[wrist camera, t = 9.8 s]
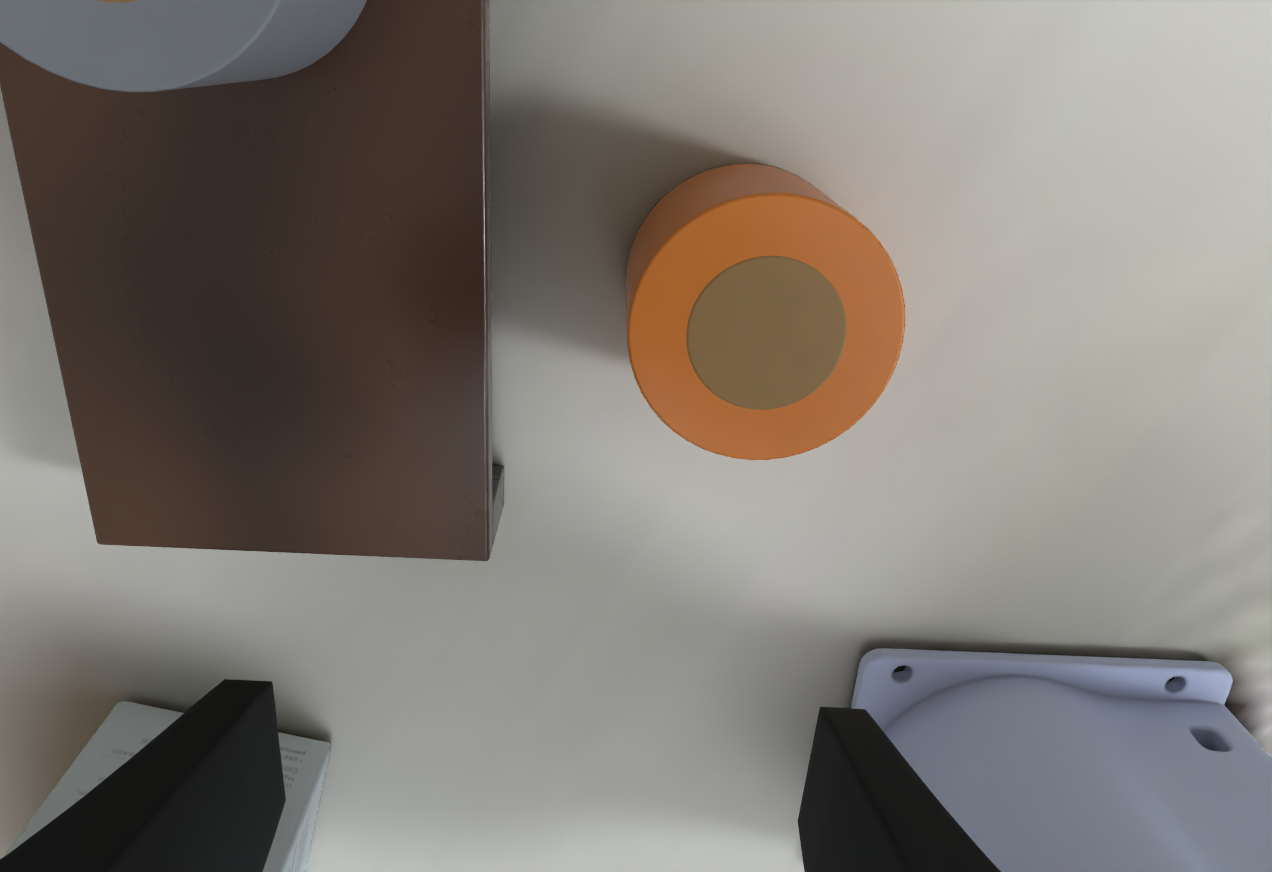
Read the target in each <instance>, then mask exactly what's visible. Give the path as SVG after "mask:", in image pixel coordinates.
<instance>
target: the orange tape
mask: <svg viewBox="0 0 1272 872" xmlns="http://www.w3.org/2000/svg"><path fill="white" fill-rule="evenodd" d="M626 278H627V340H628V351H629V357H630V363H631V366H632V370H633V373H634V377H635V379H636V381H637V384H638V386H639V388H640V390H641V393H642V394H643V396H644V397H645V399H646V401H647V402H648V404H649V405H650V407H651V408H652V409H653V411H654V412H655V413H656V414H657V415H658V417H659V418H660V419H661V420H662V421H663V422H664V423H665V424H666V425H667V426H668V427H669V428H671V429H672V430H673V431H674V432H675V433H677V434H678V435H680V436H681V437H683V438H684V439H685V440H687V441H689V442H691V443H693V444H695V445H696V446H698V447H700V448H702V449H705V450H708V451H711V452H713V453H716V454H719V455H724V456H728V457H732V458H739V459H749V460H768V459H776V458H784V457H788V456H792V455H796V454H800V453H803V452H806V451H809V450H811V449H814V448H817V447H819V446H821V445H823V444H825V443H827V442H829V441H831V440H833V439H834V438H836V437H837V436H839V435H840V434H842V433H843V432H845V431H846V430H848V429H849V428H850V427H851V426H852V425H854V424H855V423H856V422H857V421H858V420H859V419H861V418H862V417H863V415H864V414H865V413H866V412H867V411H868V410H869V409H870V408H871V407H872V406H873V404H874V403H875V402H876V400H877V399H878V398H879V396H880V395H881V393H882V392H883V391H884V389H885V387H886V385H887V383H888V382H889V380H890V378H891V376H892V374H893V371H894V369H895V366H896V364H897V361H898V359H899V355H900V351H901V347H902V343H903V337H904V329H905V305H904V299H903V292H902V288H901V284H900V281H899V278H898V275H897V272H896V270H895V267H894V265H893V263H892V261H891V259H890V257H889V255H888V254H887V252H886V251H885V249H884V248H883V246H882V245H881V243H880V242H879V241H878V240H877V238H876V237H875V236H874V235H873V234H872V233H871V232H870V231H869V230H868V228H866V227H865V226H864V225H863V224H862V223H860V222H859V221H858V220H857V219H856V218H854V217H853V216H852V215H851V214H849V213H848V212H847V211H845V210H844V209H843V208H841V207H840V206H839V205H837V204H836V203H835V202H834V201H832V200H831V199H830V198H828V197H827V196H826V195H824V194H823V193H822V192H820V191H819V190H818V189H817V188H815V187H814V186H813V185H811V184H810V183H808V182H807V181H805V180H803V179H802V178H800V177H799V176H797V175H794V174H792V173H790V172H787V171H785V170H782V169H779V168H775V167H771V166H767V165H759V164H733V165H726V166H720V167H717V168H713V169H710V170H706V171H704V172H702V173H699V174H697V175H695V176H692V177H691V178H689V179H687V180H686V181H684V182H682V183H681V184H679V185H677V186H676V187H675V188H674V189H672V190H671V191H670V192H669V193H667V194H666V195H665V196H664V197H663V198H662V199H661V200H660V201H659V202H658V203H657V204H656V205H655V206H654V208H653V209H652V210H651V212H650V213H649V214H648V216H647V217H646V218H645V220H644V222H643V224H642V225H641V227H640V229H639V231H638V233H637V235H636V238H635V240H634V243H633V245H632V248H631V252H630V256H629V260H628V267H627V275H626Z"/></svg>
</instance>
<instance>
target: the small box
mask: <svg viewBox="0 0 1272 872" xmlns="http://www.w3.org/2000/svg"><path fill="white" fill-rule="evenodd" d="M182 714H184V713H182V712H177V711H172V710H167V709H162V708H157V707H152V706H147V705H142V704H137V703H132V702H127V701H120V702H118V703H117V704H116V705H115V706H114V708H113V709H112V710H111V712H110V713H109V715H108V716H107V717H106V719H105V720H104V721H103V723H102V724H101V725H100V727H99V728H98V729H97V731H96V732H95V733H94V735H93V736H92V737H91V739H90V740H89V741H88V743H87V744H86V745H85V747H84V748H83V749H82V751H81V752H80V753H79V755H78V756H77V757H76V759H75V760H74V761H73V763H72V764H71V766H70V767H69V768H68V770H67V771H66V773H65V774H64V775H63V777H62V778H61V779H60V781H59V782H58V783H57V785H56V786H55V787H54V789H53V790H52V791H51V793H50V794H49V795H48V797H47V798H46V799H45V801H44V802H43V803H42V805H41V806H40V807H39V809H38V810H37V811H36V813H35V814H34V816H33V817H32V818H31V820H30V821H29V822H28V824H27V825H26V827H25V828H24V829H23V831H22V832H21V834H20V835H19V836H18V838H17V839H16V840H15V842H14V843H13V844H12V846H11V847H10V848H9V850H8V851H7V852H6V854H5V855H4V857H5V856H6V855H7V854H9V853H10V852H11V851H13V850H14V849H15V848H17V847H18V846H19V845H21V844H22V843H23V842H25V841H26V840H27V839H29V838H30V837H31V836H33V835H34V834H35V833H37V832H38V831H39V830H41V829H42V828H43V827H44V826H46V825H47V824H48V823H50V822H51V821H52V820H54V819H55V818H56V817H58V816H59V815H60V814H62V813H63V812H64V811H66V810H67V809H68V808H70V807H71V806H72V805H74V804H75V803H76V802H77V801H79V800H80V799H81V798H83V797H84V796H85V795H86V794H87V793H89V792H90V791H91V790H92V789H94V788H95V787H96V786H97V785H98V784H100V783H101V782H102V781H103V780H105V779H106V778H107V777H108V776H110V775H111V774H112V773H113V772H114V771H116V770H117V769H118V768H119V767H121V766H122V765H123V764H124V763H125V762H127V761H128V760H129V759H130V758H132V757H133V756H134V755H135V754H136V753H138V752H139V751H140V750H141V749H142V748H143V747H145V746H146V745H147V744H148V743H149V742H151V741H152V740H153V739H154V738H155V737H157V736H158V735H159V734H160V733H161V732H162V731H164V730H165V729H166V728H167V727H168V726H170V725H171V724H172V723H173V722H174V721H175V720H177V719H178V718H179V717H180V716H181V715H182ZM278 736H279V745H280V753H281V762H282V770H283V779H284V787H285V796H286V802H285V805H284V808H283V811H282V814H281V817H280V821H279V824H278V827H277V830H276V833H275V837H274V840H273V843H272V846H271V849H270V852H269V855H268V858H267V860H266V863H265V866H264V869H263V872H306V867H307V862H308V857H309V852H310V847H311V842H312V837H313V832H314V828H315V823H316V818H317V813H318V807H319V802H320V797H321V792H322V787H323V783H324V778H325V773H326V768H327V764H328V759H329V755H330V751H331V745H330V743H328V742H325V741H320V740H315V739H310V738H305V737H300V736H294V735H290V734H285V733H280V732H278Z"/></svg>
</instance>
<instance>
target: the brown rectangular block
mask: <svg viewBox="0 0 1272 872" xmlns="http://www.w3.org/2000/svg"><path fill="white" fill-rule="evenodd" d="M0 87H1V92H2V96H3V101H4V106H5V110H6V115H7V120H8V125H9V129H10V134H11V139H12V143H13V148H14V153H15V157H16V162H17V167H18V172H19V176H20V181H21V186H22V190H23V195H24V200H25V205H26V209H27V214H28V219H29V223H30V228H31V233H32V237H33V242H34V247H35V252H36V256H37V261H38V266H39V270H40V275H41V280H42V285H43V289H44V294H45V299H46V303H47V308H48V313H49V317H50V322H51V327H52V332H53V336H54V341H55V346H56V350H57V355H58V360H59V365H60V369H61V374H62V379H63V383H64V388H65V393H66V397H67V402H68V407H69V412H70V416H71V421H72V426H73V430H74V435H75V440H76V445H77V449H78V454H79V459H80V463H81V468H82V473H83V477H84V482H85V487H86V492H87V496H88V501H89V506H90V510H91V515H92V520H93V525H94V529H95V534H96V539H97V542H98V544H104V545H127V546H150V547H173V548H197V549H220V550H243V551H266V552H289V553H312V554H335V555H359V556H382V557H405V558H428V559H451V560H474V561H488V560H489V558H490V555H491V551H492V547H493V544H494V540H495V536H496V532H497V528H498V524H499V520H500V517H501V513H502V509H503V505H504V466H499V465H492V369H491V210H490V50H489V0H367V1H366V3H365V6H364V8H363V10H362V11H361V13H360V15H359V17H358V18H357V20H356V22H355V24H354V25H353V27H352V28H351V29H350V30H349V32H348V33H347V34H346V35H345V37H344V38H343V39H342V40H341V41H340V42H339V43H338V44H337V45H336V46H335V47H334V48H333V49H332V50H331V51H330V52H329V53H328V54H326V55H325V56H323V57H322V58H320V59H319V60H317V61H316V62H314V63H313V64H311V65H309V66H307V67H305V68H303V69H301V70H299V71H297V72H294V73H290V74H287V75H284V76H281V77H276V78H270V79H263V80H255V81H246V82H237V83H228V84H219V85H210V86H201V87H192V88H183V89H174V90H165V91H156V92H122V91H114V90H106V89H100V88H96V87H92V86H89V85H85V84H81V83H77V82H74V81H72V80H69V79H66V78H64V77H61V76H59V75H56V74H54V73H51V72H49V71H47V70H45V69H43V68H41V67H40V66H38V65H36V64H34V63H32V62H30V61H28V60H26V59H24V58H23V57H21V56H20V55H19V54H17V53H16V52H14V51H13V50H11V49H10V48H8V47H7V46H5V45H4V44H2V43H1V42H0Z"/></svg>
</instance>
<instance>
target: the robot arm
mask: <svg viewBox="0 0 1272 872" xmlns="http://www.w3.org/2000/svg"><path fill="white" fill-rule="evenodd" d="M903 665H905V666H907V668H906V669H904V670H903V671H901V672H893V671H894V669H895V668H897V667H898V666H903ZM1172 677H1175V678H1174V679H1173V680H1171V681H1170V682H1167V681H1168V680H1169V679H1171V678H1172ZM1232 682H1233V679H1232V676H1231V674H1230V673H1229V672H1228V671H1227V670H1226V669H1225V668H1224V667H1223V666H1222V665H1221V664H1219V663H1217V662H1212V661H1188V660H1164V659H1139V658H1114V657H1089V656H1064V655H1039V654H1015V653H990V652H965V651H940V650H915V649H890V648H880V649H874V650H872V651H869V652H867V653H866V654H865V655H864V656H863V657H862V659H861V661H860V664H859V669H858V674H857V679H856V684H855V689H854V694H853V699H852V704H851V708H831V707H820V709H819V714H818V720H817V725H816V730H815V735H814V740H813V745H812V751H811V756H810V761H809V766H808V771H807V776H806V782H805V787H804V792H803V797H802V802H801V807H800V813H799V818H798V826H799V833H800V841H801V848H802V856H803V864H804V870H805V872H1272V757H1271V756H1270V755H1269V754H1268V753H1267V752H1266V751H1265V750H1264V749H1263V748H1262V746H1261V745H1260V744H1259V743H1258V742H1257V741H1256V740H1255V739H1254V738H1253V736H1252V735H1251V734H1250V733H1249V732H1248V731H1247V730H1246V729H1245V728H1244V727H1243V725H1242V724H1241V723H1240V722H1239V721H1238V720H1237V719H1236V718H1235V717H1234V715H1233V714H1232V713H1231V712H1230V711H1229V710H1228V709H1227V708H1226V707H1225V706H1224V704H1225V701H1226V699H1227V696H1228V694H1229V691H1230V689H1231V687H1232ZM285 802H286V796H285V787H284V779H283V770H282V762H281V753H280V745H279V736H278V728H277V719H276V711H275V702H274V694H273V685H272V682H270V681H249V680H227V679H225V680H223V681H222V682H221V683H220V684H219V685H217V686H216V687H215V688H214V689H212V690H211V691H210V692H209V693H208V694H206V695H205V696H204V697H203V698H202V699H200V700H199V701H198V702H197V703H196V704H194V705H193V706H192V707H191V708H190V709H188V710H187V711H186V712H185V713H184V714H182V715H181V716H180V717H179V718H178V719H177V720H175V721H174V722H173V723H172V724H171V725H170V726H168V727H167V728H166V729H165V730H164V731H162V732H161V733H160V734H159V735H158V736H157V737H155V738H154V739H153V740H152V741H151V742H149V743H148V744H147V745H146V746H145V747H143V748H142V749H141V750H140V751H139V752H138V753H136V754H135V755H134V756H133V757H132V758H130V759H129V760H128V761H127V762H125V763H124V764H123V765H122V766H121V767H119V768H118V769H117V770H116V771H114V772H113V773H112V774H111V775H110V776H108V777H107V778H106V779H105V780H103V781H102V782H101V783H100V784H98V785H97V786H96V787H95V788H94V789H92V790H91V791H90V792H89V793H87V794H86V795H85V796H84V797H83V798H81V799H80V800H79V801H77V802H76V803H75V804H74V805H72V806H71V807H70V808H68V809H67V810H66V811H64V812H63V813H62V814H60V815H59V816H58V817H56V818H55V819H54V820H52V821H51V822H50V823H48V824H47V825H46V826H44V827H43V828H42V829H41V830H39V831H38V832H37V833H35V834H34V835H33V836H31V837H30V838H29V839H27V840H26V841H25V842H23V843H22V844H21V845H19V846H18V847H17V848H15V849H14V850H13V851H11V852H10V853H9V854H7V855H6V856H5V857H3V858H2V859H0V872H263V869H264V866H265V863H266V860H267V858H268V855H269V852H270V849H271V846H272V843H273V840H274V837H275V833H276V830H277V827H278V824H279V821H280V817H281V814H282V811H283V808H284V805H285Z"/></svg>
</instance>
